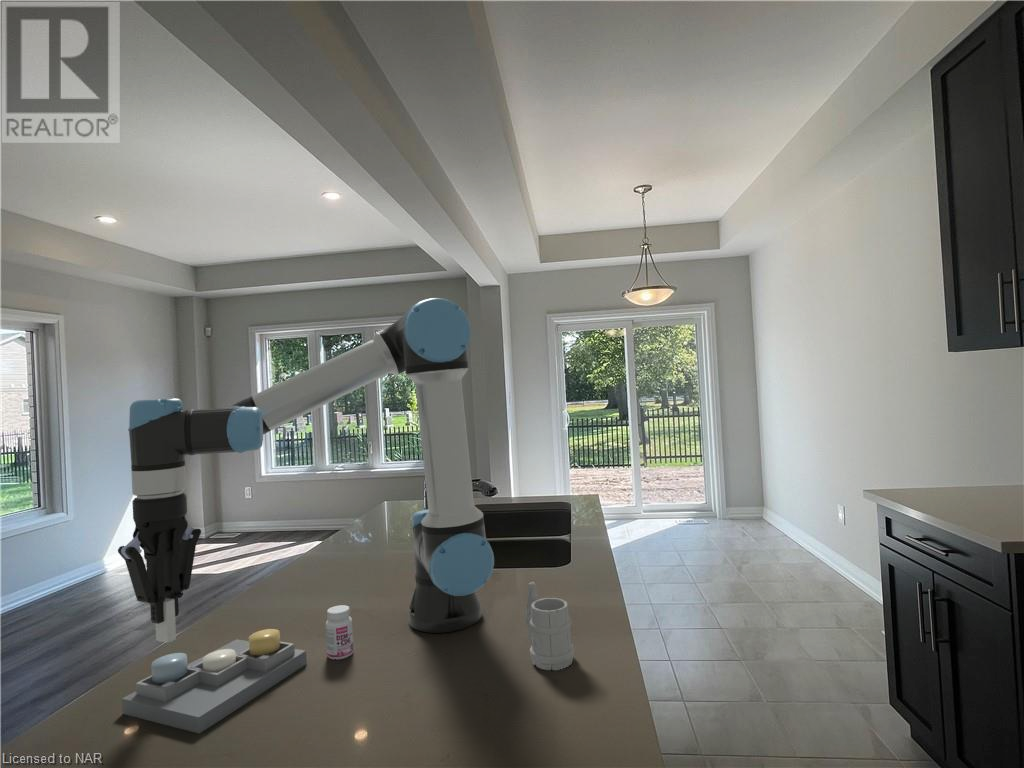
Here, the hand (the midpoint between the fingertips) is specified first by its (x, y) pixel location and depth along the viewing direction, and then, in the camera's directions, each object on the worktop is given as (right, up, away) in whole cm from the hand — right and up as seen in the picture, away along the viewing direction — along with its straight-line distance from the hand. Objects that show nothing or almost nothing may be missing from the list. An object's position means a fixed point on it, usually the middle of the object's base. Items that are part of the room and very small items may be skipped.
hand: (166, 639), depth 95 cm
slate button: (+1, -6, 0) cm, 6 cm away
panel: (+7, -10, +4) cm, 13 cm away
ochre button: (+13, -5, +8) cm, 16 cm away
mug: (+62, -7, +9) cm, 63 cm away
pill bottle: (+24, -9, +14) cm, 29 cm away
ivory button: (+7, -7, +4) cm, 10 cm away
